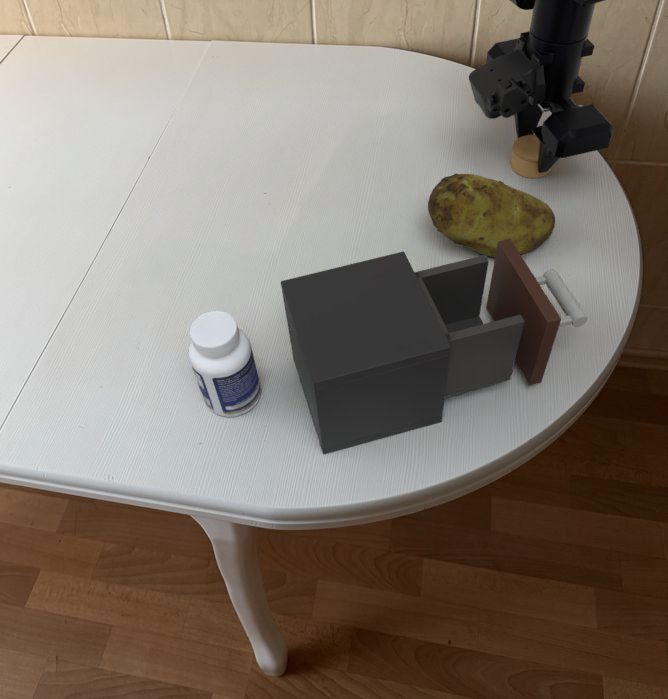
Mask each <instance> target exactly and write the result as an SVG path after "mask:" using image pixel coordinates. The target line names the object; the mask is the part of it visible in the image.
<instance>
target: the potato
mask: <svg viewBox="0 0 668 699" xmlns="http://www.w3.org/2000/svg"><path fill="white" fill-rule="evenodd" d="M427 211H428V215H429V217H430V220H431V222H432V224H433V226H434V227H435V229H437V232H439V233H441V235H443V236H444V237H445V238H447V239H448V240H449V241H450V242H453V243H454V244H456V245H458V246H461V247H464V248H470V249H471V250H473V251H475V252H477V253H479V254H481V255H482V256H483V255H486V257H494V258H495V255H496V250H497V244H498V241H502V240H506V239H511V241H512V242H513V244H514V246H515V247H516V249H517V250H518V252H519V253H520V255H524V254H526V253H529V252H530V251H533V250H534V249H536V248H538V247H539V246H541V245H542V244H544V243H545V242H547V241H548V240H549V238H550V237H551V236H552V234H553V231H554V229H555V226H556V217H555V214H554V212H553V210H552V208H551V207H550V206H549V205H548V204H547V203H546V202H544V201H543V200H541V199H539V198H537V197H535V196H534V195H531V194H529V193H527V192H524V191H523V190H520V189H517V188H514V187H512V186H510V185H509V184H506V183H505V182H504V181H501V180H496V179H493V178H488V177H485V176H482V175H478V174H474V173H473V174H472V173H454V174H453V175H449V176H445V177H443V178H441V180H440V181H439V182H438V183H437V184H436V185H435V186H434V188H433V189H432V191H431V192H430V194H429V198H428V201H427Z"/></svg>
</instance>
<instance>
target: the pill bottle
mask: <svg viewBox="0 0 668 699" xmlns="http://www.w3.org/2000/svg"><path fill="white" fill-rule="evenodd" d="M189 337H190V340H191V342H190V344H189V348H188V360H189V363H190V365H191V368H192V372H193V374H194V376H195V379H196V382H197V385H198V387H199V390H200V392H201V395H202V398H203V401H204V402H205V405H206V406H207V408H208V409H209V410H210V411H211V412H212V413H214V414H216V415H217V416H222V417H226V418H227V417H229V418H233V417H239V416H242V415H244V414H246V413H248V412H250V411H251V410H252V409H253V408H254V407H255V406H256V405H257V403H258V402H259V400H260V397H261V394H262V385H261V380H260V376H259V373H258V368H257V364H256V361H255V356H254V353H253V349H252V345H251V341H250V338H249V337H248V335H247V334H246V333H245V332H244V330H242V329H241V328H239V326H238V323H237V320H236V319H235V317H234V316H233V315H232V314H230V313H228V312H226V311H223V310H211V311H207V312H205V313H203V314H201V315H199V316H197V318H195V319H194V320H193V321H192V323H191V325H190V328H189Z"/></svg>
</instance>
